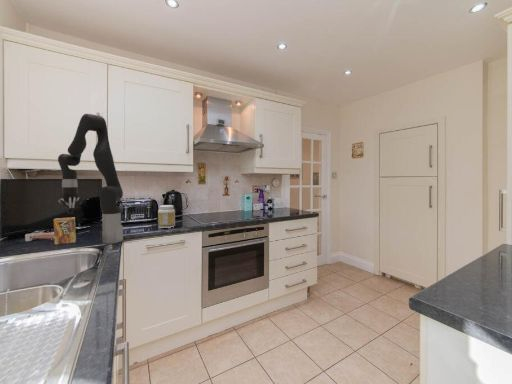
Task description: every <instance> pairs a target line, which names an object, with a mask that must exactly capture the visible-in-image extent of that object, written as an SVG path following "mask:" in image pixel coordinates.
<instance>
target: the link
mask: <svg viewBox="0 0 512 384" xmlns="http://www.w3.org/2000/svg"><path fill="white" fill-rule="evenodd" d="M39 233H43V235H37V236H32V239H54V232H43V231H40V232H39ZM30 234H34V232H31V233H30ZM54 240H55V239H54Z"/></svg>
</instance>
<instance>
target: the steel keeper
mask: <svg viewBox="0 0 512 384" xmlns="http://www.w3.org/2000/svg"><path fill="white" fill-rule="evenodd" d="M39 232H41V230H35V231H33V233H34V234H31V233H26V234H25V235H24V239H25V242H31V241H33V238H32V236H37V235H43V233H44V232H42V233H39Z"/></svg>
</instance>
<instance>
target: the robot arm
mask: <svg viewBox="0 0 512 384" xmlns="http://www.w3.org/2000/svg"><path fill="white" fill-rule="evenodd" d="M89 131H91V132H96V135H97V143H96V145H95V148H94V149H93V154H92V155H93V158H94V162H95V166H96V168H97V170H98V171H99V173H100V174H101V175H102V176H103V178H104V180H105V184H106V185H105V186H103V187H102V188H101V189H100V191H99V205H100V206H99V208H100V210H101V212H102V213H101V214H102V218H101V219H102V243H103V244H106V245H109V244H118V243H119V242H123V241H124V227H123V224H122V214H121V213H122V212H121V211H122V209H121V207H119V206H118V203H117V202H118V201H121V200H122V198H123V194H124V192H123V191H124V190H123V188H122V186H121V183H120V181H119V178H118V173H117V170H116V166H115V161H114V156H113V153H112V150H111V145H110V141H109V134H108V127H107V122H106V120H105V118H104V117H103V116H101V115H98V114H91V113H84V114H82V116H81V118H80V120H79V122H78V126H77V129H76V132H75V135H74V137H73V139H72V141H71V143H70V145H69V146H68V148H67V152H68V154H67V153H61V154H59V155H58V157H57V162H58V164H59V165H58V166H59V167H60V170H61V174H62V176H61V178H62V180H61V190H62V191H61V194H62V196H61V198H60V199H57V202H58V203H59V204H60V205H61V206H62V207H63V208H65V209H67V211H66V212H67V214H68V215H73V214H74V213H75V208H76V207H78V206H79V204H80V203H81V202H82V201H83V198H80V197H79V195H78V193H79V191H78V186H79V185H78V177H77V175H78V173H77V170H75V169H72V168H70V166H71V167H77V166H78V165H80V163H81V160H82V159H81V158H82V154H83V153H84V151H85V150H86V148H87V138H86V135H87V133H88V132H89Z"/></svg>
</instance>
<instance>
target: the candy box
mask: <svg viewBox="0 0 512 384" xmlns="http://www.w3.org/2000/svg"><path fill="white" fill-rule="evenodd" d="M76 230H77V229H76V217H75V216H74V217H61V218H60V217H59V218H57V217H56V218H54V219H53V233H54V245H64V244H72V243H74V244H73V246H75V245H76V242H77V235H76Z"/></svg>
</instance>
